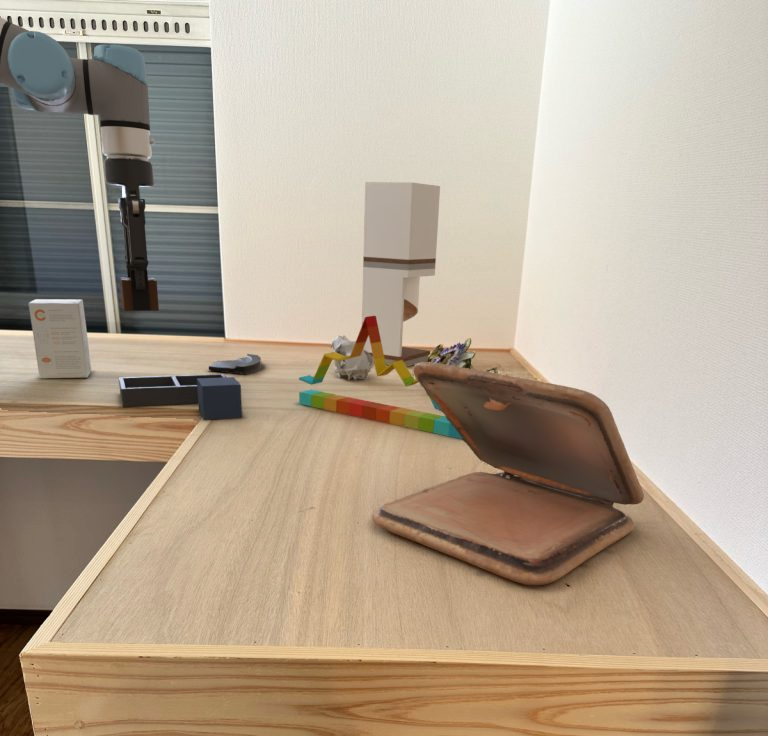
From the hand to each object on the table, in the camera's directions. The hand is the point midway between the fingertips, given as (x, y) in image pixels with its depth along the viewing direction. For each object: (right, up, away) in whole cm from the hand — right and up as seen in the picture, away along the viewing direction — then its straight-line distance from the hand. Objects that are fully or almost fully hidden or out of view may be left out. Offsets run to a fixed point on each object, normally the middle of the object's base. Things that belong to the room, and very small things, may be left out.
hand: (139, 307), depth 126 cm
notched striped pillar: (+45, -3, +32) cm, 55 cm away
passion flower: (+55, -15, +2) cm, 57 cm away
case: (+55, -37, -53) cm, 85 cm away
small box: (-15, -11, +6) cm, 20 cm away
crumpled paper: (+36, -9, +15) cm, 40 cm away
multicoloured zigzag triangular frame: (+42, -21, -15) cm, 49 cm away
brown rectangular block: (0, 0, 0) cm, 0 cm away
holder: (+9, -17, -7) cm, 20 cm away
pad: (+18, -21, -16) cm, 32 cm away
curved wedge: (+14, -7, +18) cm, 24 cm away
